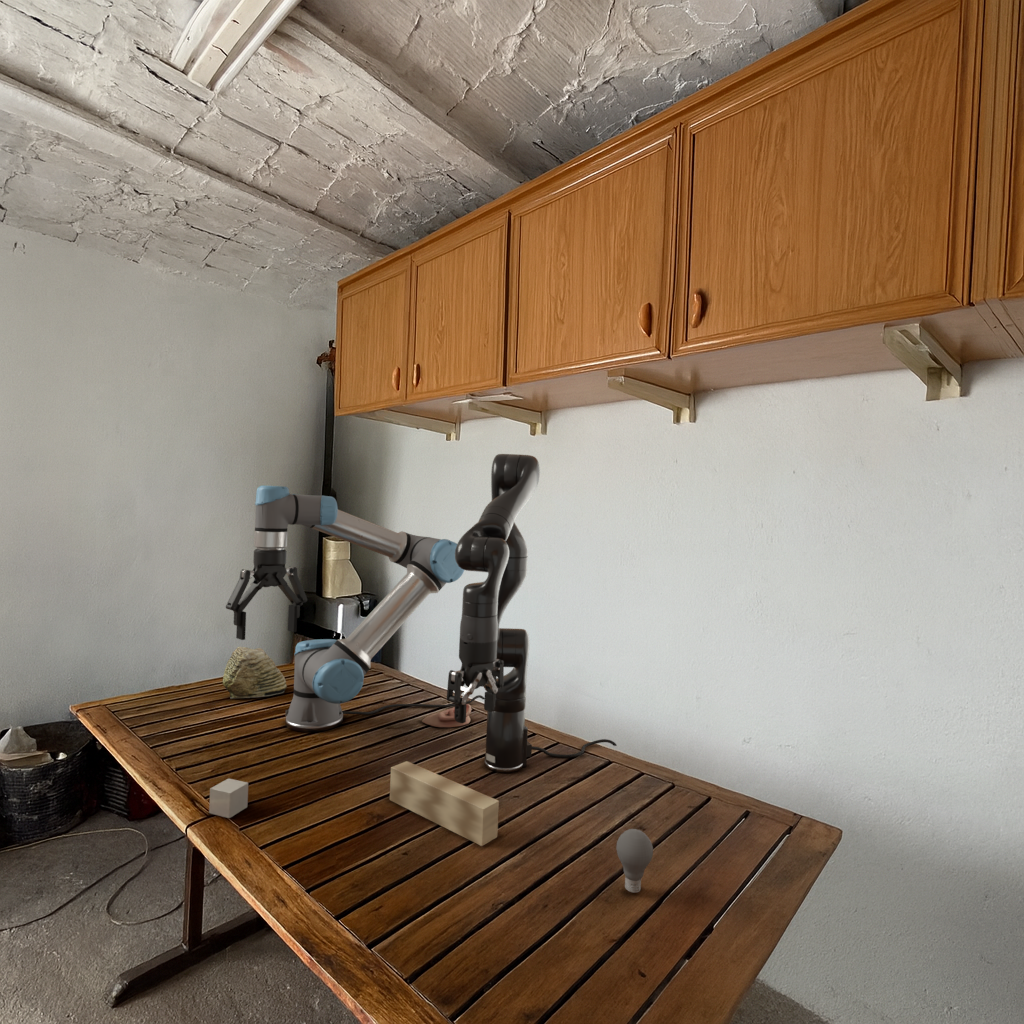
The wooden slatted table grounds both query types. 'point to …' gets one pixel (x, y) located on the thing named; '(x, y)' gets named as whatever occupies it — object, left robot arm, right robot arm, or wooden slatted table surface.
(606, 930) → the wooden slatted table surface
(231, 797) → the grey block
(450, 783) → the ash bar
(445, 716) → the anatomical model
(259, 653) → the fossil
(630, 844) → the light bulb
